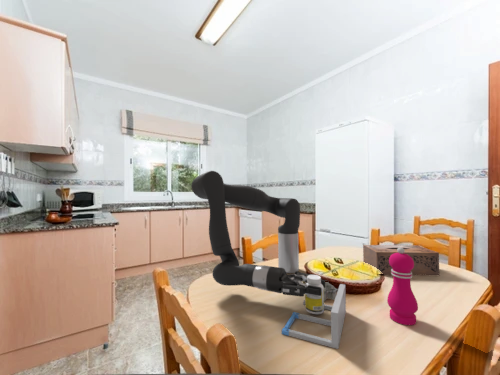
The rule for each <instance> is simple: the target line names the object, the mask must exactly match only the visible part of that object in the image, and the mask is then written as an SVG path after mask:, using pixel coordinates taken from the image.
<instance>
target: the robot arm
mask: <svg viewBox="0 0 500 375" xmlns="http://www.w3.org/2000/svg"><path fill="white" fill-rule="evenodd" d="M191 190H192V192H193V194H194V195H195V196H197V197H198V198H199V199H202V200H207V201H208V206H209V222H208V223H209V224H208V235H209V236H208V237H209V241H210V247H211V251H212V253H213V256H216V257H220V259H221V262H219V263H218V264H216V265H215V267H214V268H213V270H212V278H213V280H214V281H215V282H216V283H217V284H220V285H222V286H246V287H251V288H257V289H259V290H262V291H267V292H272V293H277V294H282V295H285V296H293V297H301V298H302V297H305V294H313V295H318V296H321V294H322V288H321V287H317V286H311V285H306V283H308V282H307V276H308V275H311V274H310V273H304V272H300V271H299V268H300V266H299V265H300V264H299V262H300V260H299V255H300V254H299V229H300V224H301V223H300V222H301V221H300V220H301V205H300V203H299V201H298V200H297V199H296V198H290V197H289V198H288V197H287V198H286V197H285V198H284V197H283V198H282V197H275V196H270V195H269V194H267V193H266V192H265V191H264V190H261V189H259V188H256V187H254V186H250V185H244V184H243V185H242V184H227V183H224V180H223V177H222V175H221V174H220V173H219V172H218V171H215V170H208V171H205V172H203V173H202V174H199V175H198V176H196V177H195V178H194V179H193V180H192V182H191ZM226 203H227V204H231V205H233V206H237V207H240V208H244V209H249V210H252V211H257V212H258V211H259V212H266V213H269V214H273V215H275V216H277V217H279V218H283V219H284V223H282V224H281V225H279V226H278V228H277V239H278V243H277V244H278V246H277V247H278V250H277V251H278V253H277V254H278V256H277V258H278V260H277V261H278V267H277V266H270V265H259V264H251V263H244V264H240V262H239V259H238V258H237V255H236V253H235V251H234V249H233V247H232V243H231V238H230V233H229V228H228V221H227V211H226ZM325 281H326V280H325V279H321V284H322V285H323V287H324V288H325Z"/></svg>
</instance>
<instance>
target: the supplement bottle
mask: <svg viewBox="0 0 500 375" xmlns="http://www.w3.org/2000/svg"><path fill="white" fill-rule="evenodd" d="M306 277H307V279H306V280H307V282H308V283H306V282H305V283H306V285H311V286H317V287H321V288H322V294H321V296H318V295H313V294H304V298H305V299H304V300H305V305H304V306H305V310H306V312H308V313H309V314H311V315H321V314H323V313H324V312H325V309H324V304H325V301H324V287H323V285H322V284H321V280H322V277H321V276H320V275H318V274H310V275H308V276H306Z"/></svg>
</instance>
